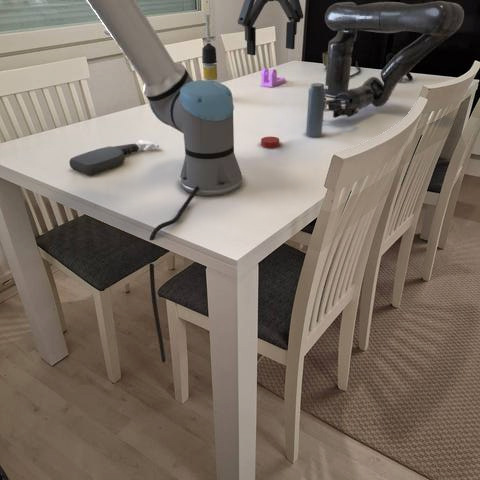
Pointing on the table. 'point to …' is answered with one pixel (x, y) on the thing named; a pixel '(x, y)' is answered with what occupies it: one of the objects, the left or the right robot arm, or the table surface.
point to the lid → (270, 142)
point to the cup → (325, 59)
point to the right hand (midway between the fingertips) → (322, 111)
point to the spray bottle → (106, 157)
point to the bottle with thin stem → (209, 57)
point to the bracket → (270, 78)
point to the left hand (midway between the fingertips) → (271, 51)
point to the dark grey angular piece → (390, 60)
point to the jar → (315, 110)
